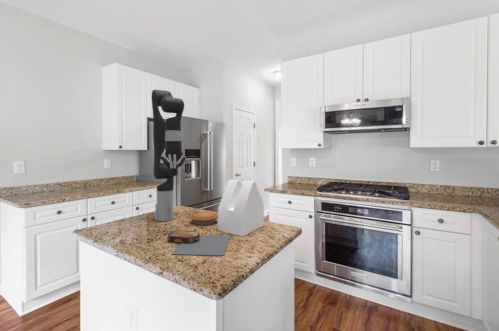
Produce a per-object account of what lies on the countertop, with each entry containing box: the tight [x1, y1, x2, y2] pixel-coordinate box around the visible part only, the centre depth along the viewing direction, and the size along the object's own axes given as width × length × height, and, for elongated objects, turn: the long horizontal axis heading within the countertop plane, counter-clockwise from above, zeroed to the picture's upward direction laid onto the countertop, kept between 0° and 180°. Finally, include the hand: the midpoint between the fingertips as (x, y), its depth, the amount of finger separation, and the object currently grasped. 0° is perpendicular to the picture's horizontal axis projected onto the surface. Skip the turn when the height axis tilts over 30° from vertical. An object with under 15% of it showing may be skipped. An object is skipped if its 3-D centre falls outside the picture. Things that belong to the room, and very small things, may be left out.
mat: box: [171, 234, 232, 257], centre depth 104 cm, size 20×22×1 cm
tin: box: [167, 229, 201, 244], centre depth 109 cm, size 15×3×8 cm
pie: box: [189, 211, 218, 226], centre depth 138 cm, size 16×16×5 cm
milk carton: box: [217, 179, 265, 237], centre depth 126 cm, size 19×15×25 cm
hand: (174, 175), depth 119 cm, fingers closed
